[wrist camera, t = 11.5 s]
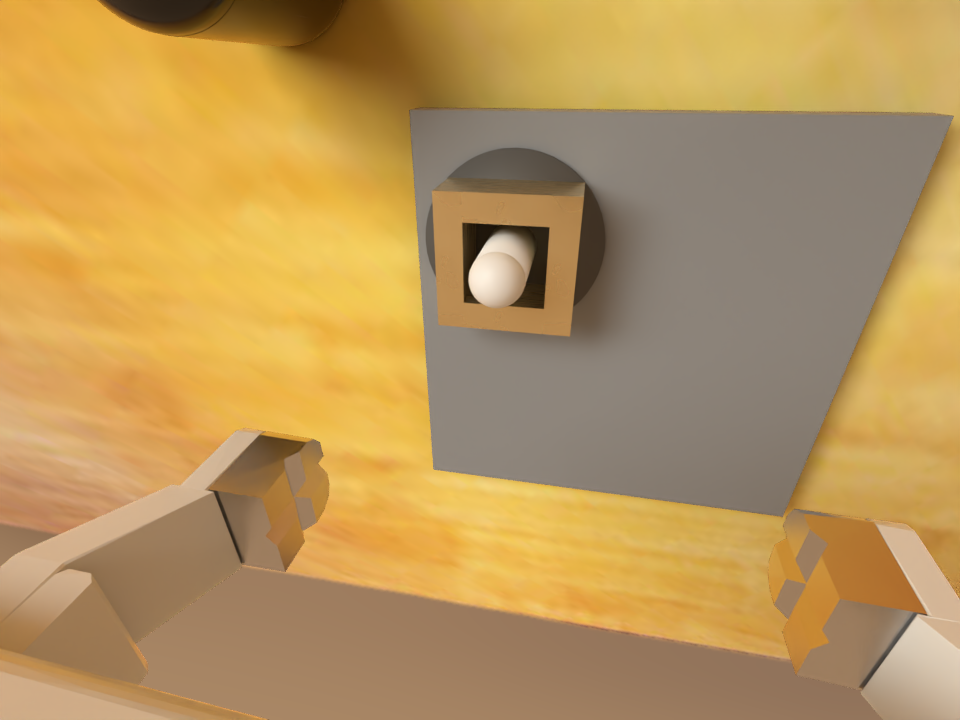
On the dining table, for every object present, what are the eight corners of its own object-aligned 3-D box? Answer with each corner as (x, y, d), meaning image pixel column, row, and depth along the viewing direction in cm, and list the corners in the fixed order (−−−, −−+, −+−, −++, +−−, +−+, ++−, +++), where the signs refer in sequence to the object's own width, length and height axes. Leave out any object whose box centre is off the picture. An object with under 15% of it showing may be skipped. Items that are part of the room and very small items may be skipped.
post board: (931, 112, 21) (1086, 135, 14) (775, 498, 32) (821, 610, 25) (419, 107, 24) (355, 123, 18) (439, 455, 36) (404, 542, 29)
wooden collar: (585, 182, 23) (583, 197, 20) (572, 310, 26) (570, 336, 24) (449, 177, 24) (432, 190, 21) (452, 300, 27) (438, 325, 25)
